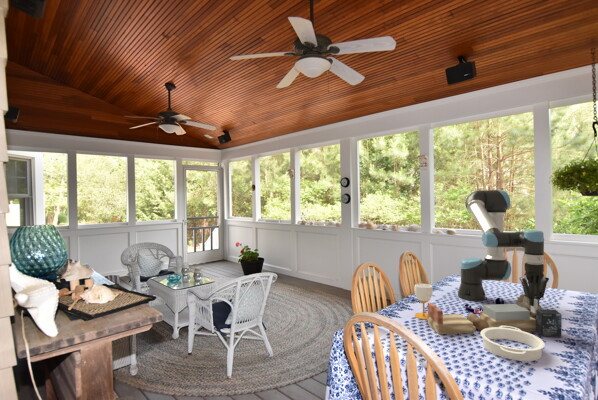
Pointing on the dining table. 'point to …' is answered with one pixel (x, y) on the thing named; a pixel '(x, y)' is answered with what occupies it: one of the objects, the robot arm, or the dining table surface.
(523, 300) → the rock
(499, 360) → the dining table surface
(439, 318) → the track
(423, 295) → the cup
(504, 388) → the dining table surface
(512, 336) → the cream oval ring
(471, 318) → the roller
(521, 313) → the slab
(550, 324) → the box
